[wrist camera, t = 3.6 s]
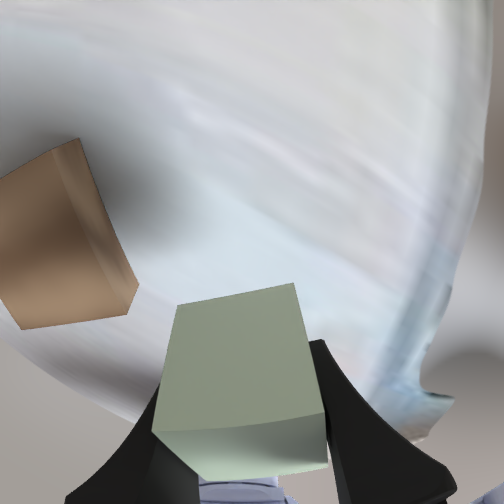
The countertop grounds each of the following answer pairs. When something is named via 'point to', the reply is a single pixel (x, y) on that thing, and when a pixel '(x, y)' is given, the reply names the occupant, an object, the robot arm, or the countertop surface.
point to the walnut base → (59, 245)
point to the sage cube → (242, 388)
